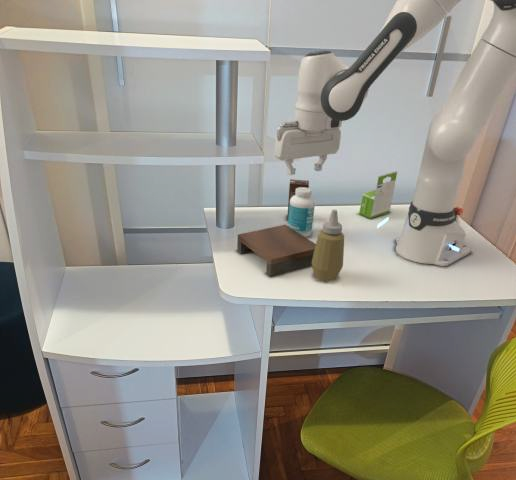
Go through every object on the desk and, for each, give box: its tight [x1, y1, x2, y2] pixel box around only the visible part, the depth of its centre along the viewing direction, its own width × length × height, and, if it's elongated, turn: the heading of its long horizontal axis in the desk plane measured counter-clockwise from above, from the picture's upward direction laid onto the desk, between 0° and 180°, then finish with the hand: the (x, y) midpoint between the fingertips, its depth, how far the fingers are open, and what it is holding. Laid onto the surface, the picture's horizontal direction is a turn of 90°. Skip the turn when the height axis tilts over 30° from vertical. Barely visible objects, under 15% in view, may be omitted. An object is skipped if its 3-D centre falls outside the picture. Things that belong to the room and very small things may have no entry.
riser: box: [236, 224, 316, 278], centre depth 139 cm, size 16×17×5 cm
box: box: [286, 179, 310, 221], centre depth 160 cm, size 6×4×12 cm
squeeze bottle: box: [311, 209, 345, 282], centre depth 127 cm, size 8×8×18 cm
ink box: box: [358, 170, 398, 220], centre depth 166 cm, size 10×5×14 cm, turn 130°
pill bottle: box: [287, 187, 316, 238], centre depth 150 cm, size 8×7×14 cm
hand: (304, 172), depth 143 cm, fingers open, 8 cm apart
